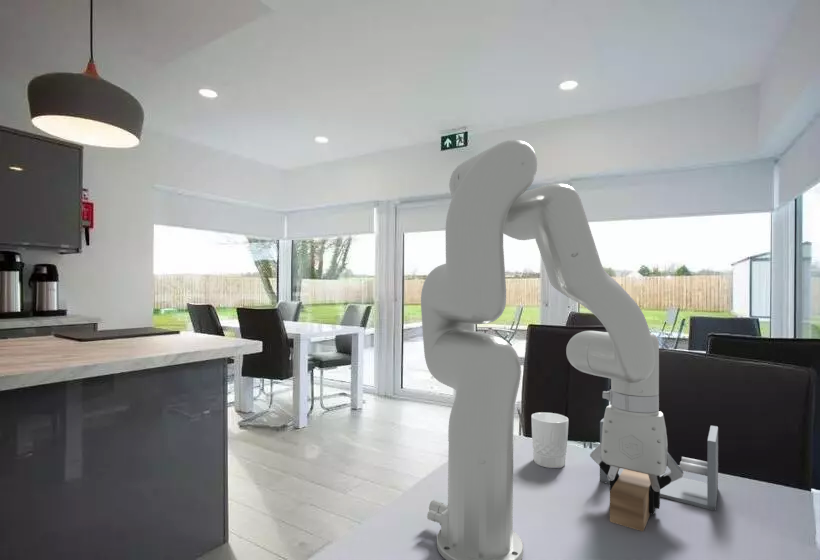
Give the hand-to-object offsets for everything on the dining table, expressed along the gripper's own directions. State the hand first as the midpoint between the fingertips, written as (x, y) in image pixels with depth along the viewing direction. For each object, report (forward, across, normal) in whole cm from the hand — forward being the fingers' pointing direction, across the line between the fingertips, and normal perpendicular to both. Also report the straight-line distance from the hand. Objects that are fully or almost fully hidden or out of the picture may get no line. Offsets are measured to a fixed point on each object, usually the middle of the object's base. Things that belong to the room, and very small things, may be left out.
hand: (634, 505), depth 78 cm
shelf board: (+1, 0, 0) cm, 1 cm away
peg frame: (+1, +2, +14) cm, 14 cm away
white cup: (+1, -19, +12) cm, 22 cm away
